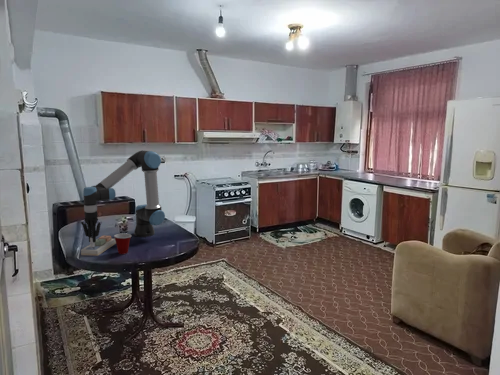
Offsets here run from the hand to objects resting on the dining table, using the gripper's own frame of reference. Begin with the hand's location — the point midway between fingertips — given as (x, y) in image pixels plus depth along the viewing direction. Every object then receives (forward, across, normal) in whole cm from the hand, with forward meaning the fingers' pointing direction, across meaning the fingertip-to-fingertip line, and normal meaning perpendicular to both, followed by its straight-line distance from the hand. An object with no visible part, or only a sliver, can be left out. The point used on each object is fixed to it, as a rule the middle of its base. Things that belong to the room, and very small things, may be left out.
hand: (92, 246), depth 223 cm
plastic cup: (+4, -19, -3) cm, 20 cm away
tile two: (+1, 0, -8) cm, 8 cm away
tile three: (+3, 0, 0) cm, 3 cm away
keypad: (+4, 0, -8) cm, 9 cm away
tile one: (+1, 0, -16) cm, 16 cm away
